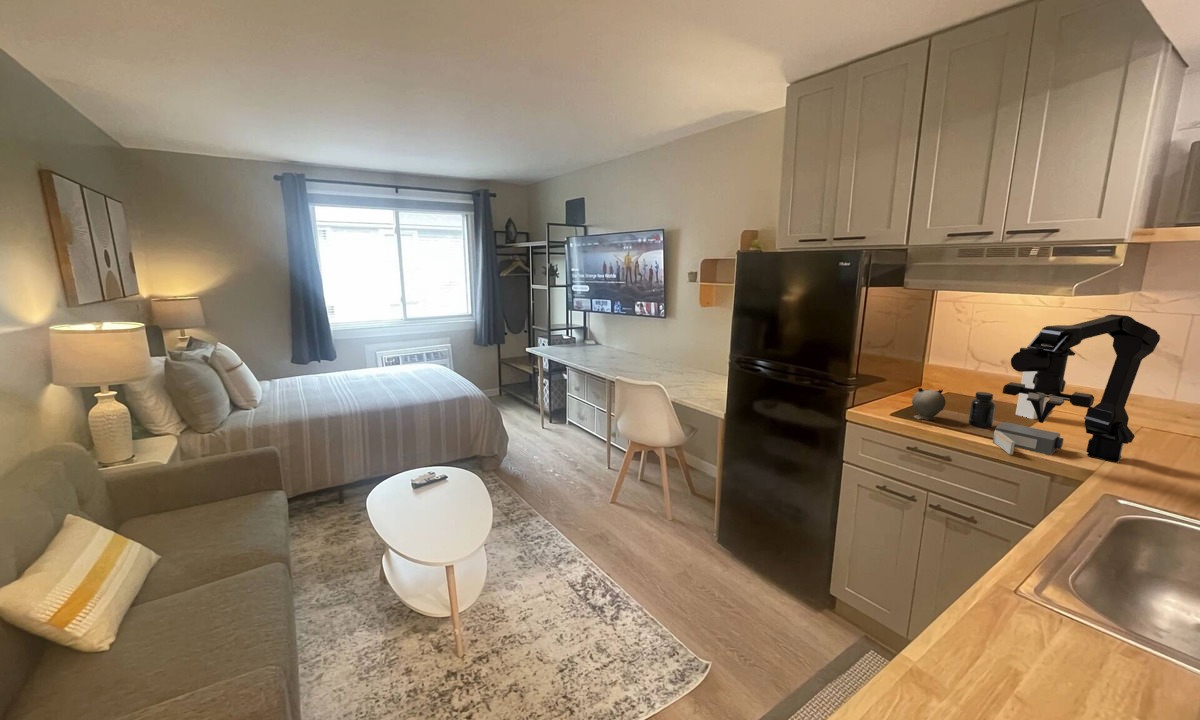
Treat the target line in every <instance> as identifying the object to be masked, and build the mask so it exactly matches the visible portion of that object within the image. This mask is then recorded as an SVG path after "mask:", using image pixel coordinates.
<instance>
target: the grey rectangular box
mask: <svg viewBox="0 0 1200 720" xmlns="http://www.w3.org/2000/svg"><path fill="white" fill-rule="evenodd" d="M996 431H1000V432H1001V433H1003V434H1004V435H1005V436H1007V437H1008V438H1010V439H1011V440H1012V441H1014V442H1015V445H1014V448H1017V449H1021V450H1025V451H1030V452H1034V453H1038V454H1041V455H1042V454H1043V455H1046V456H1052V455H1053V454H1054V453H1055V452H1056V451H1057V450H1061V449H1062V448H1063V445H1064V437H1061V433H1059V432H1055V431H1050V430H1046V429H1040V428H1035V427H1030V426H1025V425H1020V424H1016V423H1011V422H1005V421H1003V422H1002V423H1000V424H999V425H997V426H996V427H995V429H994V434H993V438H992V439H993V440H992V443H993V444H995V443H994V442H995V436H996Z"/></svg>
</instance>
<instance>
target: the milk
mask: <svg viewBox="0 0 1200 720" xmlns="http://www.w3.org/2000/svg"><path fill="white" fill-rule="evenodd" d="M1035 374H1037V371H1032V372H1022V377H1021V381H1020V384H1025V387H1026V388H1032V389H1034V386H1035V384H1033V379H1034V376H1035ZM1042 394H1044V393H1042ZM1027 398H1028V394H1023V393H1019V394H1018V398H1017V399H1018V400H1017V405H1016V409H1015V416H1019V417H1022V416H1023V417H1022V418H1026V417H1027V419H1030V420H1038V419H1037V415H1036V412H1035V409H1034V407H1033V405H1032V403H1031V401H1028V400H1027ZM1048 399H1049V398H1048V397H1045V398H1044V403H1043V411H1044V408H1045V405H1046V402H1047V401H1048Z"/></svg>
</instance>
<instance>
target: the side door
mask: <svg viewBox="0 0 1200 720" xmlns="http://www.w3.org/2000/svg"><path fill="white" fill-rule="evenodd" d="M993 444H995V445H997V446H998V447H1000V448H1001V449H1002V450H1003V451H1005V452H1006V453H1007V454H1008V455H1011V456H1012V455H1014V451H1015V450H1014V449H1015V447H1014V445H1015V442H1014V441H1012V440H1011V439H1010V438H1008V437H1007V436H1005V435H1004V434H1003V433H1001V432H1000V431H996V436H995V442H994V443H993Z"/></svg>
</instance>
